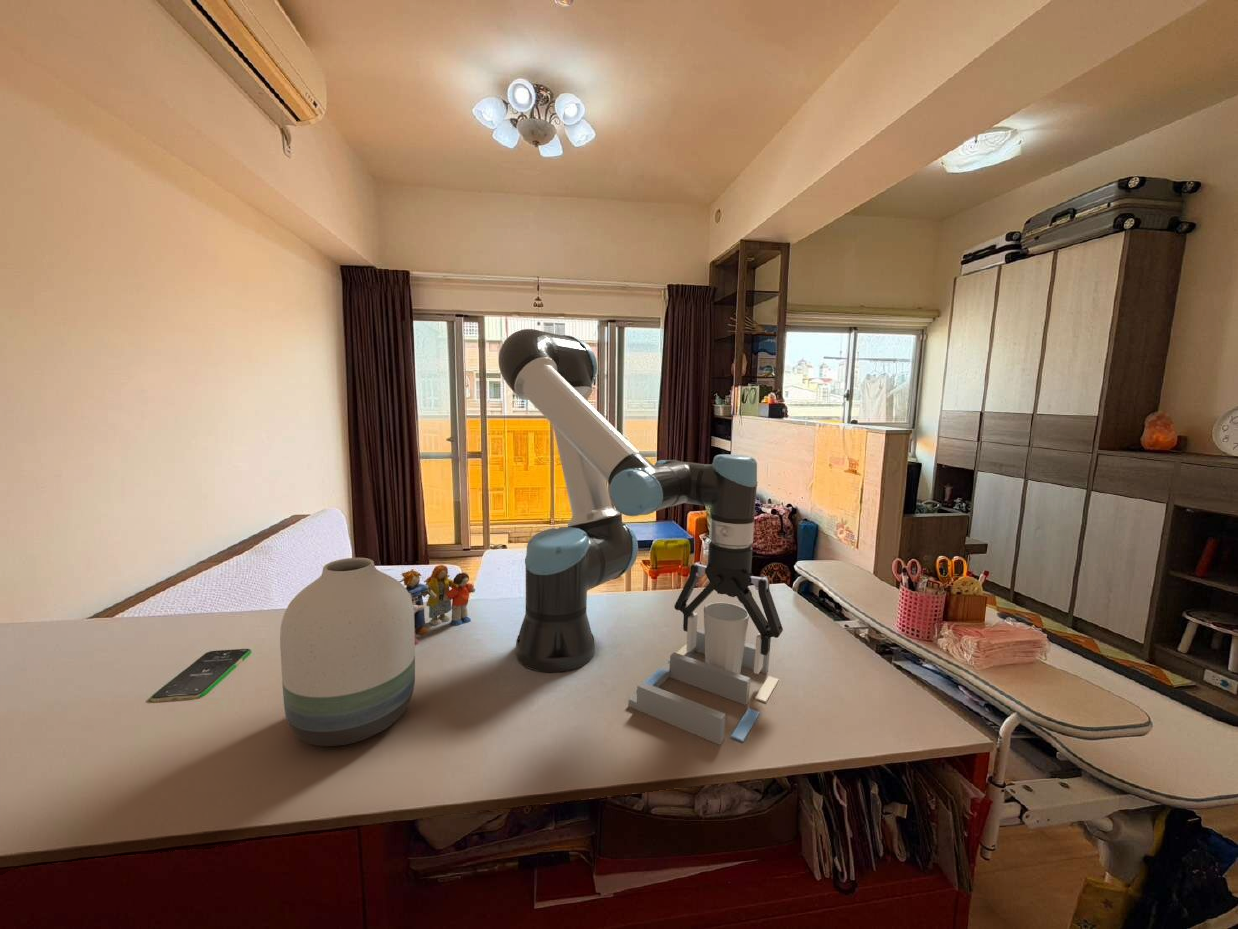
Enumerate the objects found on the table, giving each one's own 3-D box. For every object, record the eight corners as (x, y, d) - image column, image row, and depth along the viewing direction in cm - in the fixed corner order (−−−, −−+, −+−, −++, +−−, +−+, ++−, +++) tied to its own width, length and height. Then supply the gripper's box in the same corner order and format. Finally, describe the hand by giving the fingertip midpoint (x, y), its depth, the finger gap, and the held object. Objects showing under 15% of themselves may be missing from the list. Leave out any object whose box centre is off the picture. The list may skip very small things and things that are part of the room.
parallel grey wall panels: (628, 706, 77) (629, 682, 77) (691, 645, 98) (692, 626, 97) (737, 752, 68) (739, 726, 67) (782, 674, 88) (783, 653, 88)
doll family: (391, 657, 90) (389, 589, 88) (362, 642, 95) (360, 578, 93) (479, 617, 107) (479, 560, 106) (451, 606, 112) (450, 552, 111)
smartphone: (145, 699, 74) (207, 650, 89) (145, 705, 74) (207, 655, 89) (201, 695, 76) (253, 647, 90) (202, 700, 76) (254, 652, 90)
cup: (746, 690, 83) (750, 623, 82) (699, 683, 85) (703, 618, 83) (743, 666, 91) (747, 605, 89) (700, 660, 92) (704, 600, 91)
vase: (325, 781, 60) (317, 597, 57) (262, 729, 69) (253, 567, 66) (439, 711, 75) (437, 560, 72) (375, 675, 83) (371, 540, 80)
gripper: (659, 535, 88) (654, 647, 91) (797, 562, 75) (787, 691, 78) (677, 527, 94) (672, 632, 97) (807, 550, 81) (797, 671, 84)
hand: (723, 659), depth 87 cm, fingers open, 12 cm apart
